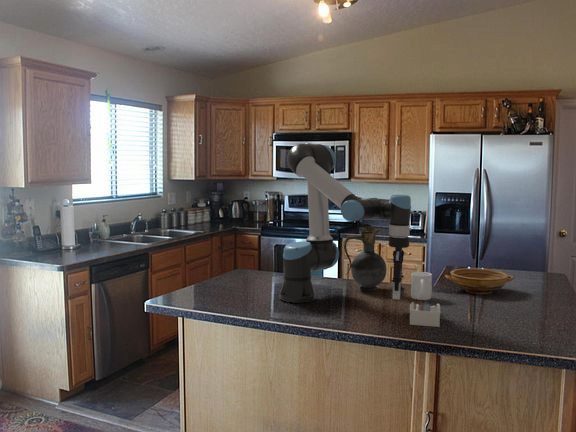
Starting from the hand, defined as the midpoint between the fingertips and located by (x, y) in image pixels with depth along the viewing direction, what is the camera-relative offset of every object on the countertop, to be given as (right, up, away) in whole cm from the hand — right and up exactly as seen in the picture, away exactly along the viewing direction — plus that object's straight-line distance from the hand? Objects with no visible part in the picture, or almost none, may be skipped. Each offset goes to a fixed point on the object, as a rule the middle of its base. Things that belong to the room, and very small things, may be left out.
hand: (396, 296), depth 198 cm
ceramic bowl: (+43, -3, +34) cm, 55 cm away
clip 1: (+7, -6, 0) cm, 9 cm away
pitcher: (-7, -3, +37) cm, 38 cm away
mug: (+14, -4, +20) cm, 25 cm away
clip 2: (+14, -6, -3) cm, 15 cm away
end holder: (+8, -7, -11) cm, 15 cm away
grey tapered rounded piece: (0, -1, 0) cm, 1 cm away
